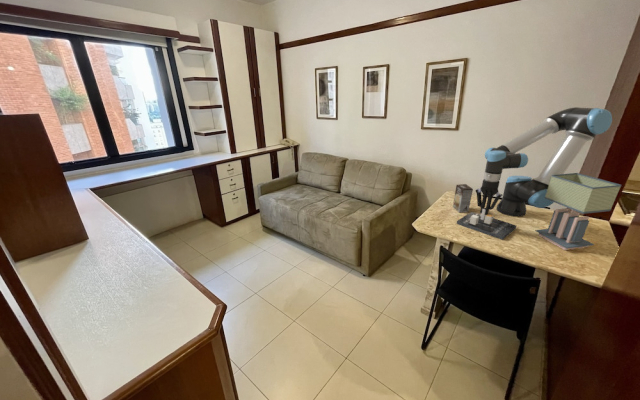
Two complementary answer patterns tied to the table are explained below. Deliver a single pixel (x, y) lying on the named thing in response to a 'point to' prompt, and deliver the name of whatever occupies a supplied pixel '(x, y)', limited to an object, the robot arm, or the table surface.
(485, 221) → the block
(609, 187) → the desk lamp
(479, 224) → the panel
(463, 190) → the coffee box
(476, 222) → the block
